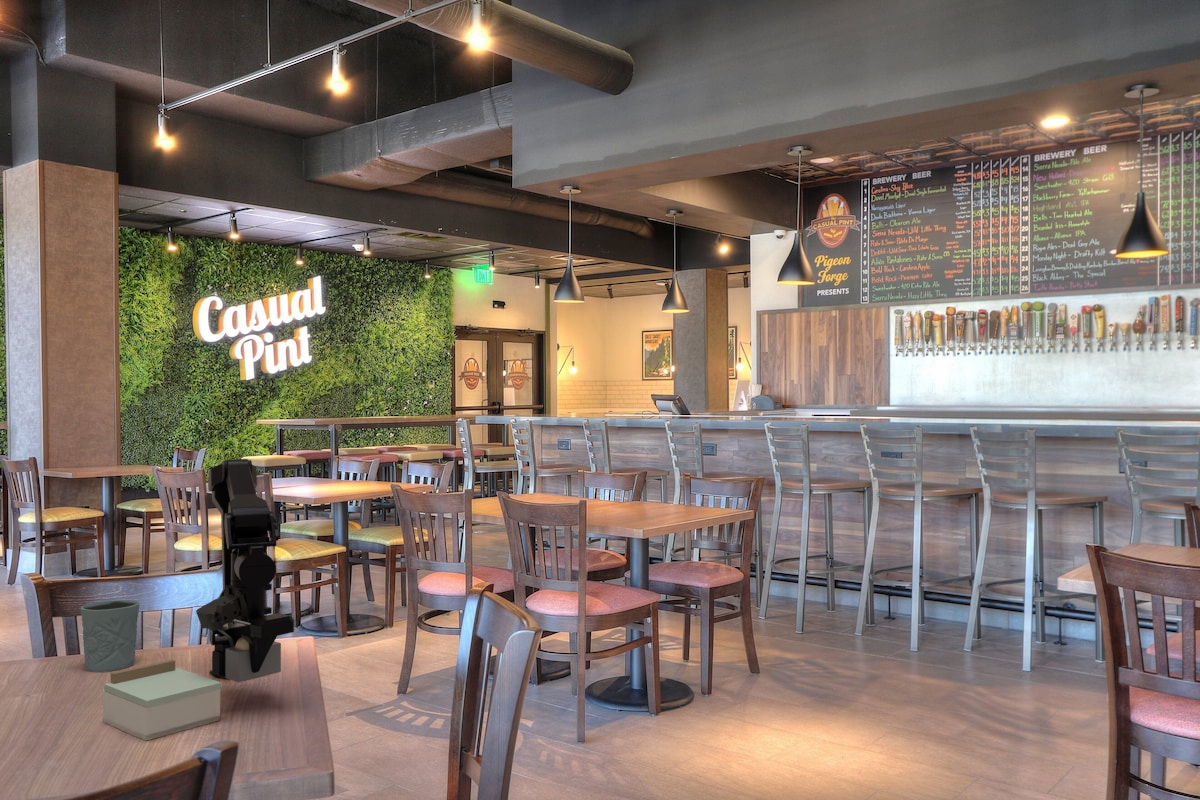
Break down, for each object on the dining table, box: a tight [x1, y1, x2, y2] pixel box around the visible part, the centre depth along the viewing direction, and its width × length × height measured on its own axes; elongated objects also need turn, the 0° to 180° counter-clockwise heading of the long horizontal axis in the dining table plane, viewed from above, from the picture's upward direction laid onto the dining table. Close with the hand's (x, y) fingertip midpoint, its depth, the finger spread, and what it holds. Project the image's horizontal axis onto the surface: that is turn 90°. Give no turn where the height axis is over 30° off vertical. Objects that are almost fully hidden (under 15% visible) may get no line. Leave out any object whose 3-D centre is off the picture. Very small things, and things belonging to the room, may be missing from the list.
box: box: [102, 689, 221, 742], centre depth 149 cm, size 12×14×5 cm
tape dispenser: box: [225, 637, 282, 683], centre depth 160 cm, size 8×4×7 cm, turn 142°
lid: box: [103, 659, 222, 707], centre depth 149 cm, size 12×14×3 cm
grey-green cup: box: [80, 599, 140, 673], centre depth 181 cm, size 10×10×12 cm
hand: (248, 670), depth 159 cm, fingers closed on tape dispenser, 4 cm apart
